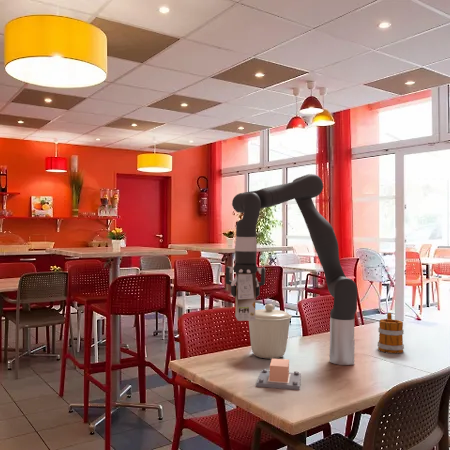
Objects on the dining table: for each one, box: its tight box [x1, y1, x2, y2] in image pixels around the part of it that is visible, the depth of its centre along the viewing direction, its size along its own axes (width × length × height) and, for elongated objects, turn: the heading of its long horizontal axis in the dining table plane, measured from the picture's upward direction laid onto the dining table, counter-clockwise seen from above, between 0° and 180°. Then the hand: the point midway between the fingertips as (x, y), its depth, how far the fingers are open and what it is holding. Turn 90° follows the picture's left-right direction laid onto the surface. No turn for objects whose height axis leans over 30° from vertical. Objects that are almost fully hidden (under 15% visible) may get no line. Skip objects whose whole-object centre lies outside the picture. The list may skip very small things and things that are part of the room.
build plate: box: [255, 368, 302, 391], centre depth 165 cm, size 14×14×2 cm
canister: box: [248, 303, 293, 360], centre depth 198 cm, size 18×18×21 cm
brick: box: [269, 358, 290, 382], centre depth 165 cm, size 6×9×5 cm, turn 170°
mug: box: [377, 312, 405, 354], centre depth 213 cm, size 11×16×15 cm, turn 166°
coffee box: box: [234, 273, 257, 322], centre depth 170 cm, size 9×6×16 cm
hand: (245, 296), depth 170 cm, fingers closed on coffee box, 7 cm apart
